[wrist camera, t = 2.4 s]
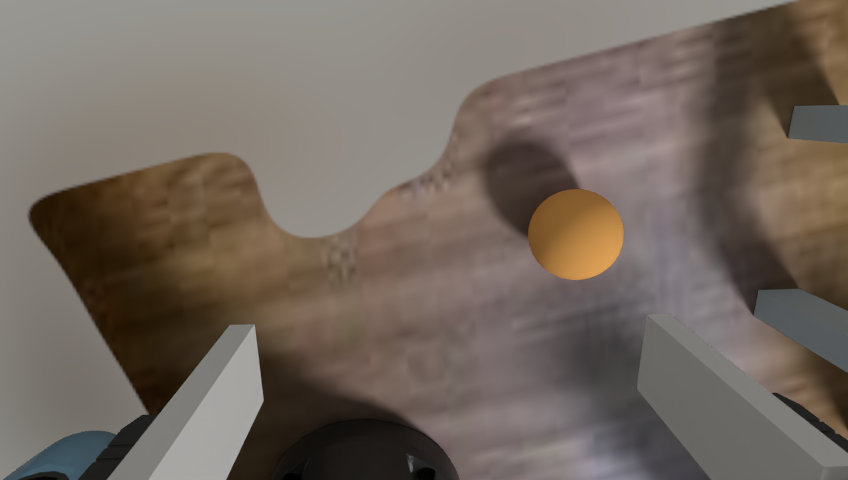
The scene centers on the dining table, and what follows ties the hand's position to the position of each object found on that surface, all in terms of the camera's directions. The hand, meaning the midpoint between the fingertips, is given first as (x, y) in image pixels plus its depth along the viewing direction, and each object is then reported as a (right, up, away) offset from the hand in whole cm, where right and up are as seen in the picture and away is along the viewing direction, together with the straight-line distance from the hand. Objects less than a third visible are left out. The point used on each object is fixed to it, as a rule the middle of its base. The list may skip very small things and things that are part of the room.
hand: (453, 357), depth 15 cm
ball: (+8, +4, +13) cm, 16 cm away
